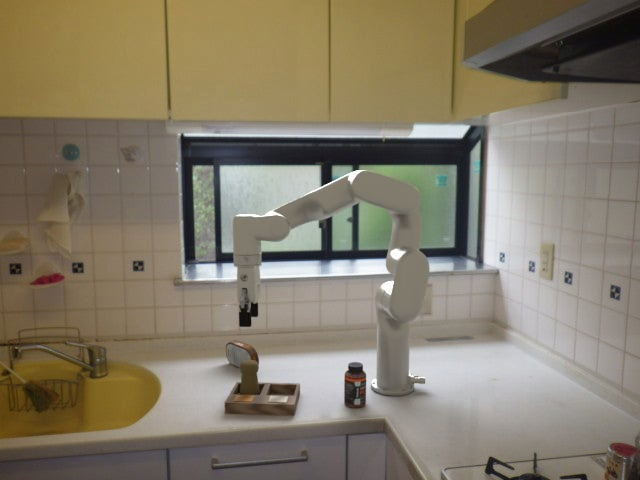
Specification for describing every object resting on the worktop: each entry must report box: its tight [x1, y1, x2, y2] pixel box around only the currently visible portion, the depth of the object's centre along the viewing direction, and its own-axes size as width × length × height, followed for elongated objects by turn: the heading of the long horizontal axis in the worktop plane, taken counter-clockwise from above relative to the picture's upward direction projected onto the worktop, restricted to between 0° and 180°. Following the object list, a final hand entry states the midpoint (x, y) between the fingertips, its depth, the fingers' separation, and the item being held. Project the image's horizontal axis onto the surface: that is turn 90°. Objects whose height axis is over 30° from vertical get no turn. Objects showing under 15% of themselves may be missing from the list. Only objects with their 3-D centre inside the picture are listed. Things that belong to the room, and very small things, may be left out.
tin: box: [225, 339, 260, 369], centre depth 169 cm, size 15×3×8 cm, turn 45°
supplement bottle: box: [343, 361, 367, 409], centre depth 141 cm, size 6×6×11 cm
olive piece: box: [239, 360, 260, 395], centre depth 145 cm, size 6×6×11 cm
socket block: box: [224, 381, 301, 417], centre depth 143 cm, size 18×14×3 cm
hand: (249, 321), depth 143 cm, fingers open, 9 cm apart
